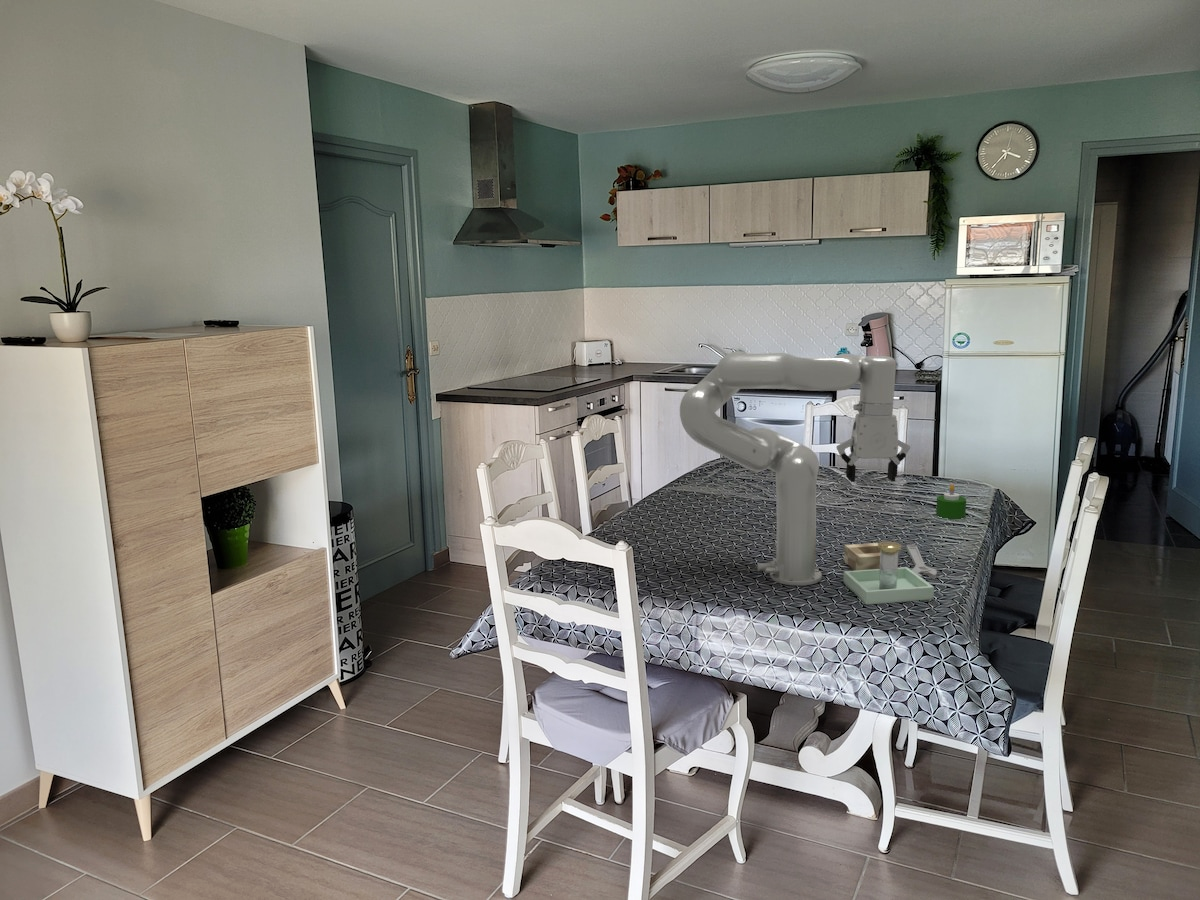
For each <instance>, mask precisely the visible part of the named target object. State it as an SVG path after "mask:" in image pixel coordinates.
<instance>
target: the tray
mask: <svg viewBox="0 0 1200 900" xmlns="http://www.w3.org/2000/svg"><path fill="white" fill-rule="evenodd" d="M879 573H880V569H871V570H857V571H855V570H846V571H843V579H842V580H843V582H842V583H843V585H845V587H847V588H848V589H849V590H850V591H851V592H854V593H853V594H854V595H856V596H857V597H858V598H859V599H860V600H861V601H862V602H863V603H864V604H865V605H878V604H891V603H904V602H918V601H919V600H920V601H929V600H930V599H933V600H934V597H935V594H934V593H935V587H934V586H933V585H932V584H930V583H929V582H928V581H927V580H925V579H924V578H923V579H922V578H921V577H920V576H918V575H917V574H916V573H914V572H913V571H912V569H911V568H909V567H908V566H904V567H898V570H897V589H884V590H880V589H879ZM920 601H919V602H920ZM930 601H931V600H930Z"/></svg>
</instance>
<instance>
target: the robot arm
mask: <svg viewBox="0 0 1200 900" xmlns="http://www.w3.org/2000/svg"><path fill="white" fill-rule="evenodd" d="M896 369H897V362H896V360H895V358H893V357H891V356H887V355H868V356H866V355H860V354H859V355H858V354H853V353H840V354H837V355H836V356H834V357H833V358H831V357H828V358H826V357H825V358H819V357H817V358H811V357H801V356H800V357H799V356H795V355H793V354H790V353H783V352H774V353H772V352H769V353H747V352H745V351H741V350H735V351H731V352H729V353H727V354H725V355H724V356H723V357H722V358H721V359H720V360H719V361H718V363H717V365H716V366H715V367H714V368H713V369H712V370H711V371H710V372H709V373H707V375H706V376H705V377H703V378H702V379H701V380H700V381H699V382H698V383H697V384H696V385H694V386H693V387H691V388H689V389H688V390H687V391H686V392H685V393H684V395H683V396H682V398H681V399H680V400H681V401H680V404H679V417H680V422H681V426H682V427H683V430H684V431H685V433H686V434H687V435H688V436H689V437H690V438H691V439H692V440H693V441H694V442H696V443H697V444H700V446H703V447H705V448H706V449H708V450H710V451H713V452H715V453H717V454H718V455H720V456H722V457H725V459H728V460H730V461H732V462H734V463H736V464H738V465H740V466H742V467H744V468H745V469H747V470H750V471H752V472H763V471H766V470H770V471H772V472H774V473H775V494H776V498H775V499H776V500H775V501H776V547H775V548H776V550H775V551H776V557H772V561H769V562H761V563H760V562H759V563H757V564H756V569H757V571H758V572H761V571H763V572H765V574H769V577H770V579H771V580H772V581H774V582H776V583H778V584H782V585H785V586H786V585H787V586H798V587H800V586H802V587H803V586H810V585H814V584H817V583H819V582H820V581H821V580H822V575H823V574H822V572H821V571H820V570H819V569H818V568H816V558H817V557H816V556H817V555H816V552H817V551H816V549H817V547H816V546H817V545H816V544H817V536H816V535H817V480H818V473H819V468H820V461H819V458H818V456H817V454H816V453H815V452H814V451H813V450H812V449H811V448H809V447H808V446H806V445H804V444H803V443H800V442H798V441H795V440H793V439H792V438H790V437H787V436H785V435H783V434H781V433H779V432H777V431H775V430H772V429H770V428H765V427H756V428H752V429H751V430H749V429H748V428H746V427H743V426H740V425H739V424H737V423H735V422H733V421H730V420H727V419H725V418H722V417H720V416H719V415H717V413H716V412H717V411H719V410H720V409H721V408H722V407H723V406H724V405H725V404H726V403H727V402H728V401H729V400H730V399H731V398H732V397H734V396H735V394H736V393H738V392H739V391H740V390H744V389H745V390H748V389H749V390H755V389H757V390H760V389H762V390H763V389H766V390H767V389H768V390H770V389H771V390H776V389H777V390H792V391H793V390H794V391H797V390H799V391H809V392H810V391H812V392H813V391H814V392H815V391H818V392H825V391H826V392H828V391H829V392H830V391H832V392H834V391H835V392H836V391H839V392H840V391H847V390H850V389H852V388H853V387H855V386H856V385H858V384H859V385H860V388H859V390H860V391H859V401H858V403H856V404H853V406H852V408H853V411H857V412H858V413H857V414H856V415H855V418H854V419H853V420H854V421H853V425H852V429H851V437H850V439H848V440H846V441H844V442H842V443H839V444H837V445H836V451H838V454H839V457H840V458H841V459H842V460H843V461H844V462H845V463H846V471H845V475H846V478H847V480H848V481H849V482H851V483H855V482H856V471H857V470H856V468H857V467H856V465H855V463H856V462H857V461H859V459H866V460H867V459H889V460H890V461H889V462H888V464H887V477H886V478H887V479H888V480H890V481H891V482H895V481H896V478H898V468H899V465H900V463H901V462H902V461H903V460H904V459H905V458H906V456H907V454H908V452H910V449H911V445H909V444H907V443H906V442H904V441H901V440H899V431H898V429H899V428H898V421H897V420H898V419H897V415H895V414H893V411H894V399H895V398H894V397H895V386H896V383H895V382H896V371H897V370H896ZM899 447H900V448H901V449H900V451H899V452H898V450H899ZM848 448H849V449H850V453H849V455H847V453H846V449H848Z"/></svg>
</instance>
